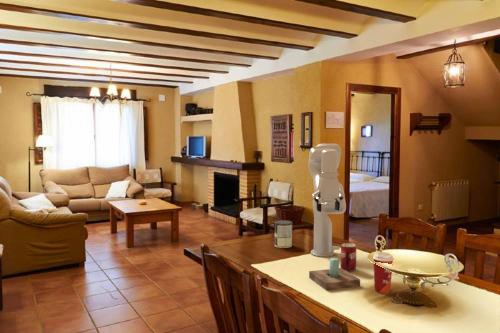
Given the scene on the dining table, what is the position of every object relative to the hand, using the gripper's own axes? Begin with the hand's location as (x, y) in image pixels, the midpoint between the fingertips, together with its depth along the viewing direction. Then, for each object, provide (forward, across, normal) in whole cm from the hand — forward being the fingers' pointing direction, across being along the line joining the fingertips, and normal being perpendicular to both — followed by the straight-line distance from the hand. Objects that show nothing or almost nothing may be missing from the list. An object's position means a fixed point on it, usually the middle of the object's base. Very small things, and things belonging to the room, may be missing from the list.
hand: (328, 210), depth 198 cm
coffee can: (+29, +6, -42) cm, 51 cm away
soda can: (+28, -7, +8) cm, 30 cm away
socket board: (+27, +8, +21) cm, 35 cm away
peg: (+27, +8, +21) cm, 35 cm away
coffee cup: (+27, -6, +36) cm, 45 cm away
